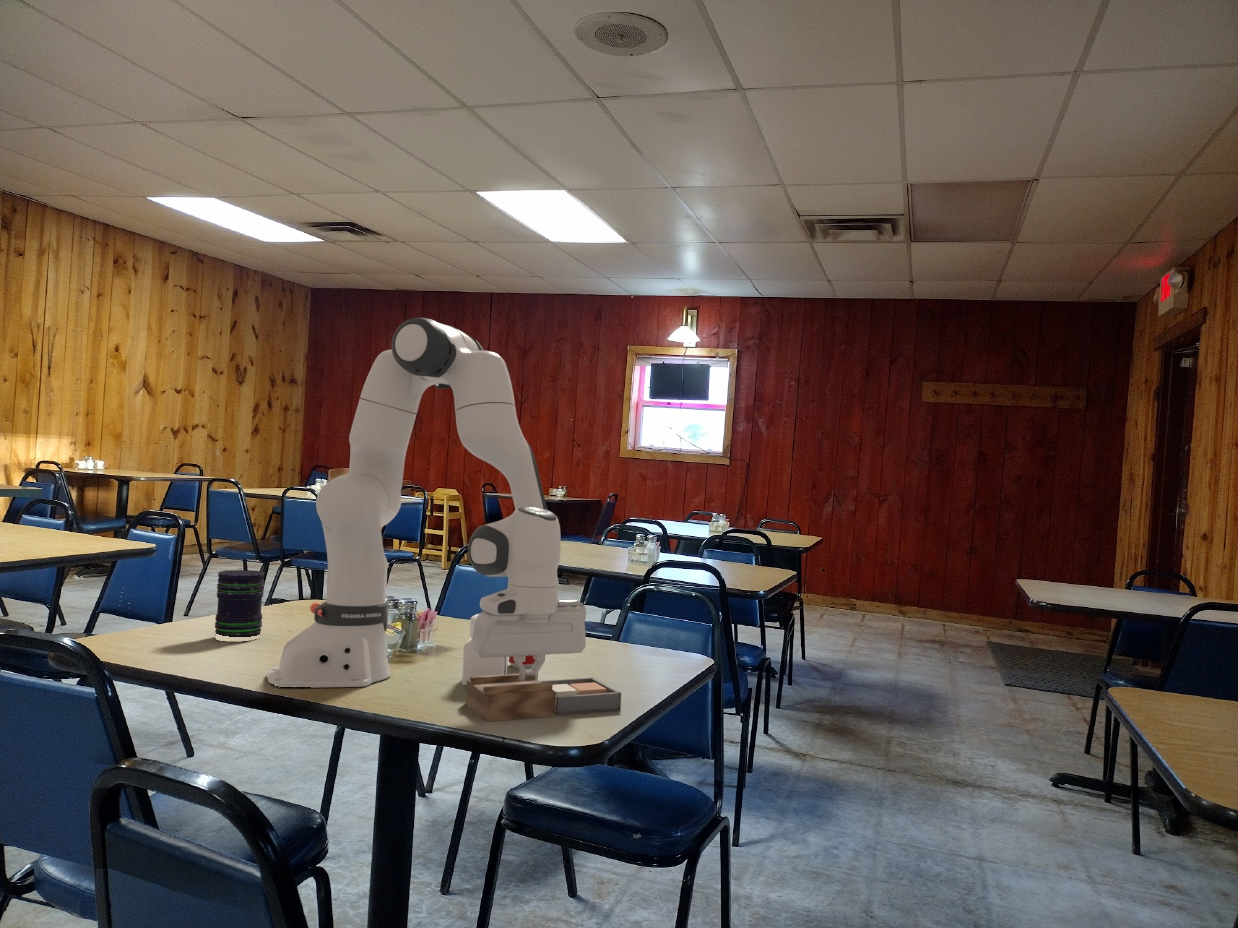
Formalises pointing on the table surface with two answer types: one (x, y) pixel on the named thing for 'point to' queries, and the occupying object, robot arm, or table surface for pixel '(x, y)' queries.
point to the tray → (586, 699)
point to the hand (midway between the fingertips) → (528, 680)
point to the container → (480, 661)
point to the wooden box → (509, 697)
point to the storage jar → (239, 603)
